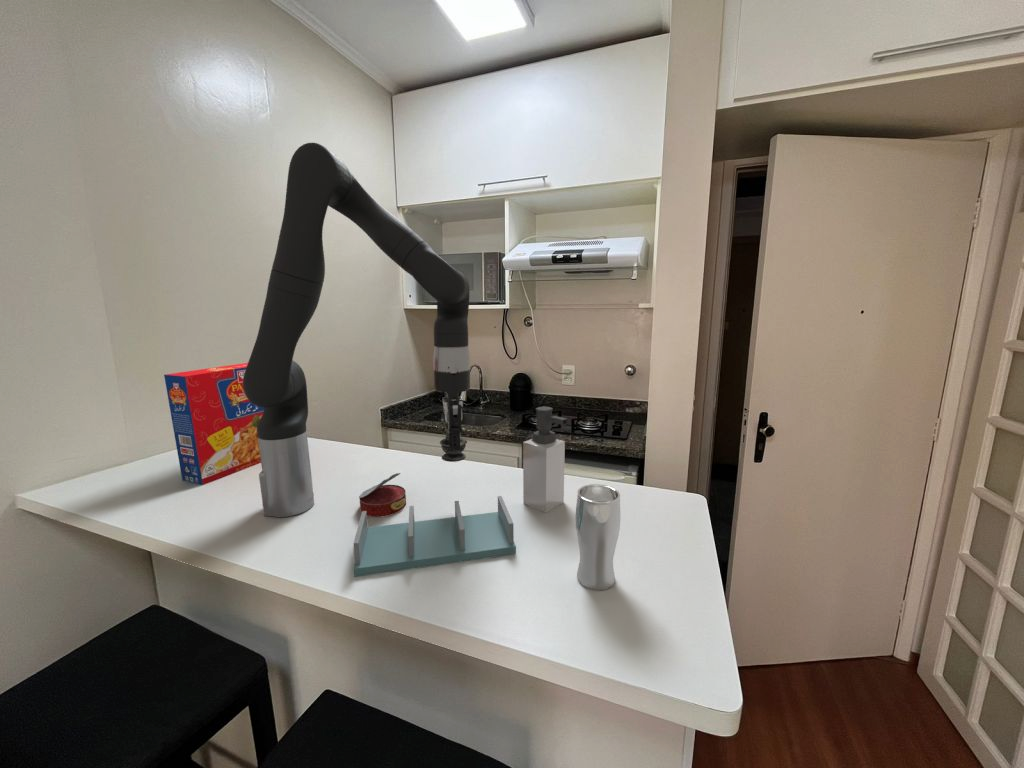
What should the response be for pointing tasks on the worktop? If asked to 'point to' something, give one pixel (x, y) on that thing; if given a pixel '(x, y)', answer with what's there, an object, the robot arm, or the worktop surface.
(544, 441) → the soap dispenser
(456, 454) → the grey chess piece
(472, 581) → the worktop surface
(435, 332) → the robot arm
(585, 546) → the beer glass
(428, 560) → the rack
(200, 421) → the pasta box
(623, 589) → the worktop surface
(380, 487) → the canned food
